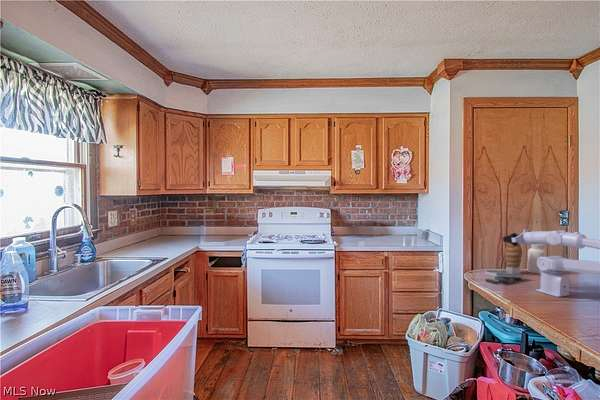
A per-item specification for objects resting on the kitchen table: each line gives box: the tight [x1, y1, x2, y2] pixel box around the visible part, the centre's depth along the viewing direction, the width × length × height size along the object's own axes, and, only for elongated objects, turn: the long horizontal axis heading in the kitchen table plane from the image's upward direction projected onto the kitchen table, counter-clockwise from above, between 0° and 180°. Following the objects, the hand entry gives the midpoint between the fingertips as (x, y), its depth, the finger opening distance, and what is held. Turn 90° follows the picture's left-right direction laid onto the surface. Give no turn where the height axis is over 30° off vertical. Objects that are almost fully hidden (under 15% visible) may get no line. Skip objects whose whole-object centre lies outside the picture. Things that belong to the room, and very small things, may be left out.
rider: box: [505, 266, 521, 274], centre depth 165 cm, size 3×5×4 cm
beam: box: [484, 269, 524, 279], centre depth 163 cm, size 6×18×2 cm, turn 112°
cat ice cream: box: [504, 242, 523, 268], centre depth 178 cm, size 9×8×18 cm
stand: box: [485, 276, 523, 285], centre depth 163 cm, size 7×18×2 cm, turn 112°
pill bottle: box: [526, 244, 547, 275], centre depth 180 cm, size 8×8×15 cm
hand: (509, 238), depth 164 cm, fingers open, 7 cm apart
